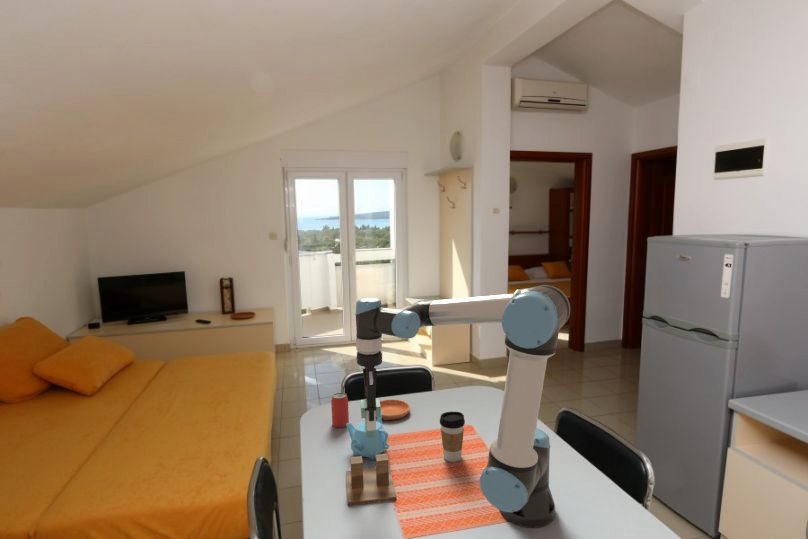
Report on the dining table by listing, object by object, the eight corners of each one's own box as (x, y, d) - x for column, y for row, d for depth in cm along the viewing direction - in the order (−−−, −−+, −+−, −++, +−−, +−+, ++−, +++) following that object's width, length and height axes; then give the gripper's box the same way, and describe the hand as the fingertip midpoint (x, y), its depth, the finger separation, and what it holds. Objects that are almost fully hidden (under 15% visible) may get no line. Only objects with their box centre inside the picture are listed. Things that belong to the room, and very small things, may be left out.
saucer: (392, 402, 198) (392, 395, 198) (418, 413, 186) (417, 406, 186) (364, 413, 187) (363, 406, 187) (389, 426, 176) (388, 419, 175)
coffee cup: (464, 465, 147) (463, 421, 145) (438, 462, 149) (438, 419, 147) (465, 451, 155) (465, 410, 154) (441, 449, 157) (441, 408, 155)
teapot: (346, 444, 162) (344, 415, 160) (383, 439, 165) (382, 409, 164) (352, 467, 147) (351, 435, 146) (393, 460, 151) (392, 428, 149)
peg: (380, 439, 133) (380, 406, 132) (362, 440, 132) (361, 408, 131) (379, 430, 139) (378, 398, 137) (361, 431, 138) (360, 400, 137)
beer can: (352, 422, 179) (351, 394, 177) (341, 429, 173) (340, 400, 172) (339, 419, 182) (338, 390, 181) (328, 425, 177) (327, 396, 175)
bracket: (396, 499, 130) (395, 470, 129) (348, 505, 128) (347, 476, 127) (389, 469, 146) (388, 443, 145) (346, 473, 144) (345, 447, 142)
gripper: (385, 360, 123) (386, 439, 126) (379, 340, 142) (380, 410, 145) (357, 361, 122) (359, 441, 125) (355, 342, 141) (356, 412, 144)
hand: (370, 424), depth 135 cm, fingers closed on peg, 6 cm apart
